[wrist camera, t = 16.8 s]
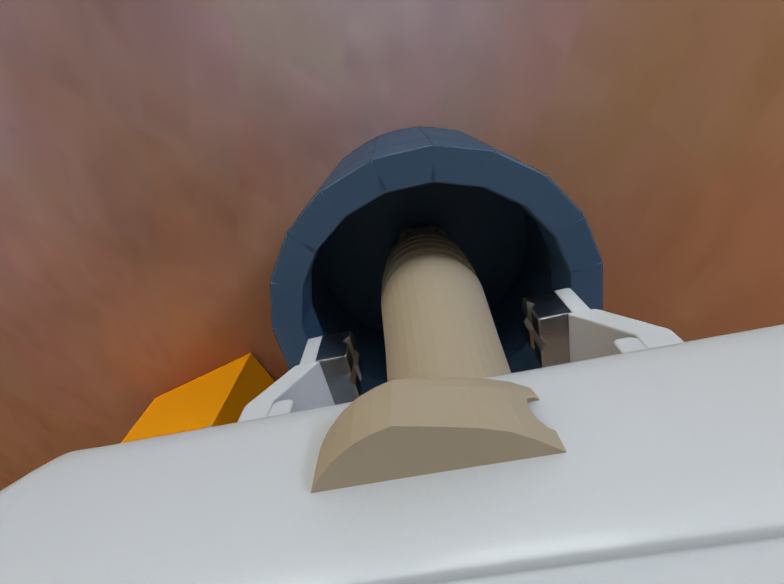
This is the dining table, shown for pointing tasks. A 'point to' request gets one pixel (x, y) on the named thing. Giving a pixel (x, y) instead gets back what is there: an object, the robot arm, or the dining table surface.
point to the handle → (433, 379)
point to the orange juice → (204, 400)
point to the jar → (420, 209)
